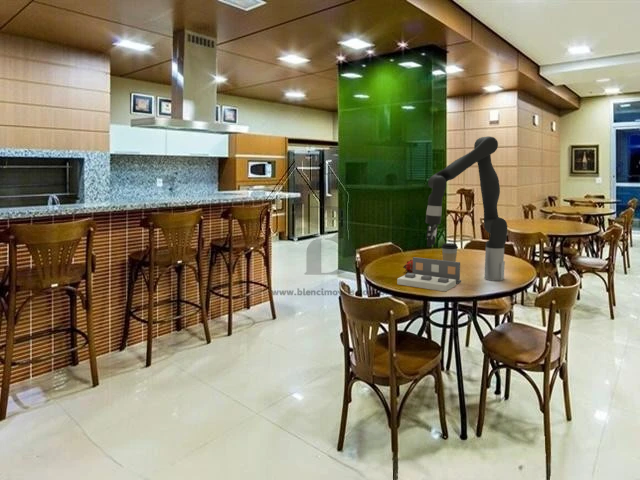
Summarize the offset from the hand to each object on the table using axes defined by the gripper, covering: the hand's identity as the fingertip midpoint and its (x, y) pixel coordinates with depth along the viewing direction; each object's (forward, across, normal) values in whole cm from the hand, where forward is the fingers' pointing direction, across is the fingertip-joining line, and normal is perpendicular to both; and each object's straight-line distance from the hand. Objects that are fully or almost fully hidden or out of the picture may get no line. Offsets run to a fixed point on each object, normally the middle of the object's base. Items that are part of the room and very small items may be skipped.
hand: (430, 245), depth 233 cm
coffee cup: (+18, +34, -6) cm, 39 cm away
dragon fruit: (+20, +18, +12) cm, 30 cm away
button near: (+18, -7, -9) cm, 21 cm away
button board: (+20, -6, -1) cm, 21 cm away
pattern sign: (+19, +6, -3) cm, 20 cm away
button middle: (+18, -6, -1) cm, 19 cm away
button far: (+19, -4, +8) cm, 21 cm away
